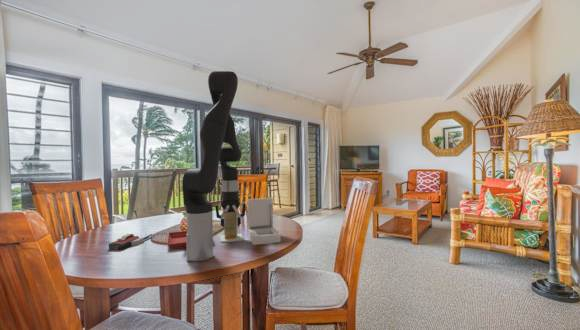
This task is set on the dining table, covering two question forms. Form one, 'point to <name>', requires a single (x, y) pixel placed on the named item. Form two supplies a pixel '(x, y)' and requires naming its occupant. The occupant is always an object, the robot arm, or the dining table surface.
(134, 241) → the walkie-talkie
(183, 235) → the plant saucer
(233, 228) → the shoe polish box
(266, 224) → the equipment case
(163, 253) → the dining table surface
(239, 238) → the sage mat
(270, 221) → the rod
